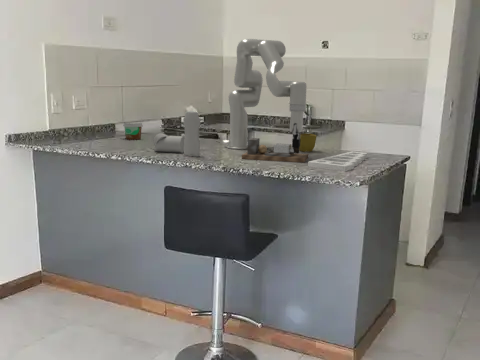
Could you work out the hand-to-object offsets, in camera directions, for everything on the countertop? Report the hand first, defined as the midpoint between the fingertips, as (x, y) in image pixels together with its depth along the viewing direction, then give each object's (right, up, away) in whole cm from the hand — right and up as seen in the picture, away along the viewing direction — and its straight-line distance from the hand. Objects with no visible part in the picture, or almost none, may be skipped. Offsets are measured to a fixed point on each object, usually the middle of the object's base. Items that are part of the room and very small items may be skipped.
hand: (296, 146), depth 257 cm
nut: (-16, -3, +5) cm, 17 cm away
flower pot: (+8, -1, +31) cm, 32 cm away
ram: (-4, -2, +2) cm, 5 cm away
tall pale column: (-51, -4, +9) cm, 52 cm away
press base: (-10, -5, +4) cm, 12 cm away
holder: (+24, -8, -5) cm, 26 cm away
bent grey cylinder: (-65, -1, +25) cm, 70 cm away
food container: (-93, +9, +70) cm, 117 cm away
